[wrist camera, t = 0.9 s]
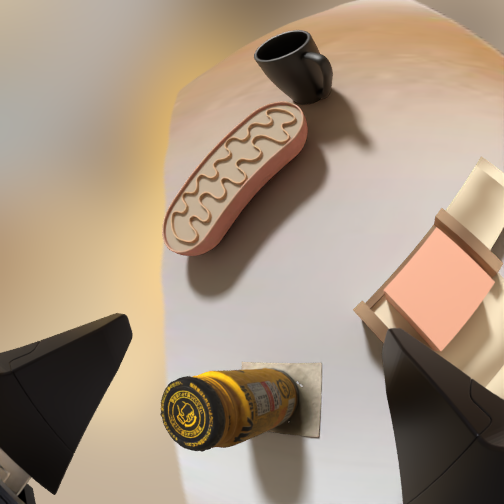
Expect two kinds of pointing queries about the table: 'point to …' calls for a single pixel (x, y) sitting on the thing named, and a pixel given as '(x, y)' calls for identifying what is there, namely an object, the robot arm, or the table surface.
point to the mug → (296, 66)
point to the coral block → (438, 290)
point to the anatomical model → (233, 177)
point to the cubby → (442, 222)
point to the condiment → (243, 404)
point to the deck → (495, 302)
